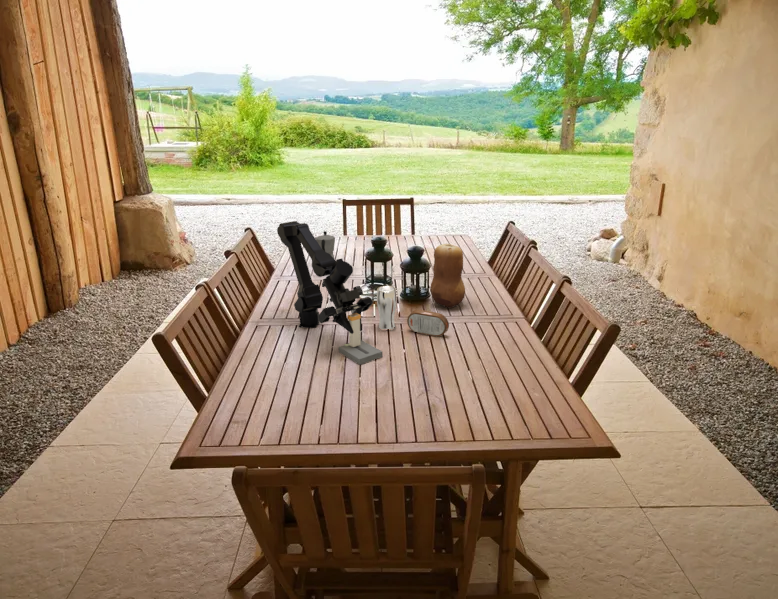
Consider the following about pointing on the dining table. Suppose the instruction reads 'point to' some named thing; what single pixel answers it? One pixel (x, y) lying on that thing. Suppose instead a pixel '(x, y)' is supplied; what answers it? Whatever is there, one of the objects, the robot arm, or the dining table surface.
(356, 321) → the lever
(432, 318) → the tin
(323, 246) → the coffeepot
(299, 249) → the robot arm
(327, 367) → the dining table surface
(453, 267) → the butternut squash
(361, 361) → the switch plate
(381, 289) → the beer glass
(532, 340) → the dining table surface
